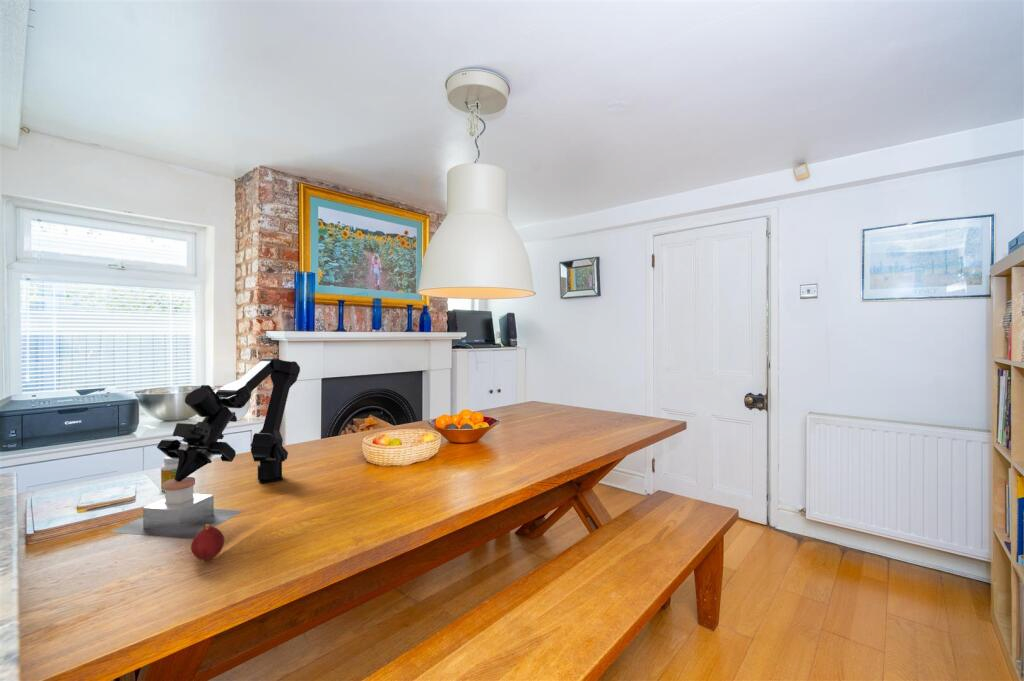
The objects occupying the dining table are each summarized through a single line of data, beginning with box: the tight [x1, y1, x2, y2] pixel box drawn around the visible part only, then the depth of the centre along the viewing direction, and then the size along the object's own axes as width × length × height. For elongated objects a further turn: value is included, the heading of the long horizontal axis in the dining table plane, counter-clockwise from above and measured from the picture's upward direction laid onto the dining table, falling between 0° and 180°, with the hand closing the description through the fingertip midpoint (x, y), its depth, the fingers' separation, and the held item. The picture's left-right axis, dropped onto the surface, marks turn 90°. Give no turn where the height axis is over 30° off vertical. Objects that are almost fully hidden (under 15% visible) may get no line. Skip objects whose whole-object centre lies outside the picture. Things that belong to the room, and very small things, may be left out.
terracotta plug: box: [163, 476, 196, 505], centre depth 112 cm, size 6×6×7 cm
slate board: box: [108, 508, 243, 540], centre depth 112 cm, size 16×22×1 cm
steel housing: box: [142, 492, 215, 531], centre depth 112 cm, size 10×10×5 cm
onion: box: [190, 524, 225, 563], centre depth 95 cm, size 6×6×8 cm
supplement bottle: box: [160, 455, 179, 492], centre depth 137 cm, size 5×5×10 cm
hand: (177, 480), depth 111 cm, fingers closed, pressing on terracotta plug
